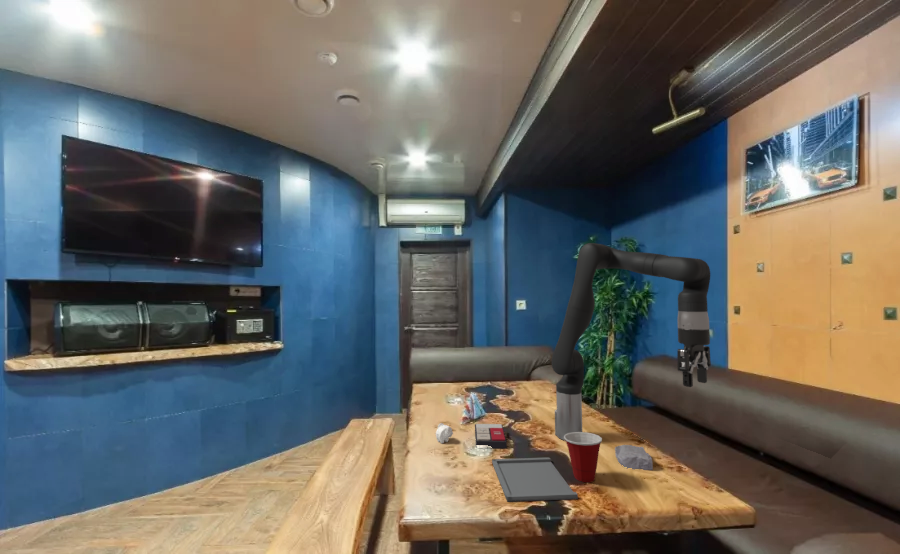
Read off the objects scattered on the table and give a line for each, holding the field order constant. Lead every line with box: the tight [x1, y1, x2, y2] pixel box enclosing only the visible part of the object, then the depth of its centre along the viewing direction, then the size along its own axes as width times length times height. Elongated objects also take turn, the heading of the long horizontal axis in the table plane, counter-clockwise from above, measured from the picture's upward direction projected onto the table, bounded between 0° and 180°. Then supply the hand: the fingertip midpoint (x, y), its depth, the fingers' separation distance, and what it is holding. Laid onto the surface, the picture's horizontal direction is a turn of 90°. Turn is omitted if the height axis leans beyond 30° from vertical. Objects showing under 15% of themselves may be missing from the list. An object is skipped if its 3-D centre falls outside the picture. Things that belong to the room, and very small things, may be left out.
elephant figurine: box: [434, 422, 454, 444], centre depth 133 cm, size 7×8×6 cm
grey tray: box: [491, 457, 579, 503], centre depth 105 cm, size 19×22×1 cm
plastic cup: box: [564, 431, 603, 483], centre depth 106 cm, size 11×11×12 cm
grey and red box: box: [474, 423, 508, 450], centre depth 134 cm, size 11×4×15 cm
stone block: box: [614, 444, 653, 471], centre depth 116 cm, size 12×5×10 cm
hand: (695, 384), depth 101 cm, fingers open, 8 cm apart
